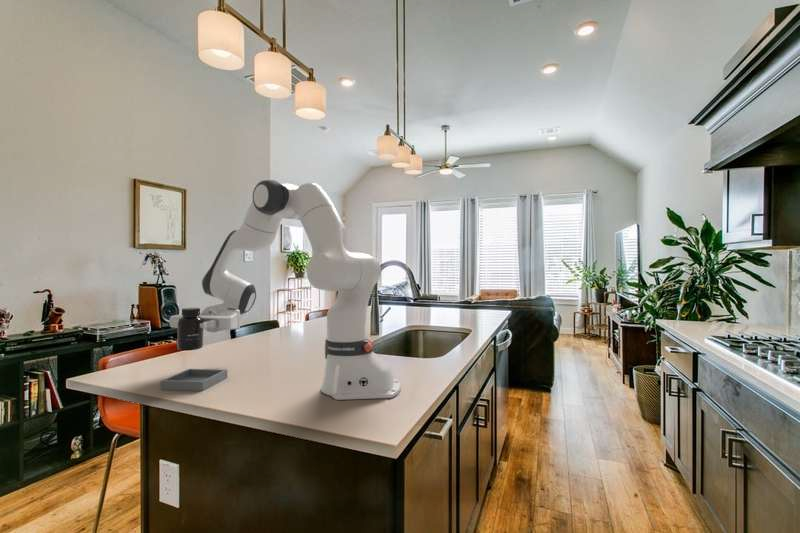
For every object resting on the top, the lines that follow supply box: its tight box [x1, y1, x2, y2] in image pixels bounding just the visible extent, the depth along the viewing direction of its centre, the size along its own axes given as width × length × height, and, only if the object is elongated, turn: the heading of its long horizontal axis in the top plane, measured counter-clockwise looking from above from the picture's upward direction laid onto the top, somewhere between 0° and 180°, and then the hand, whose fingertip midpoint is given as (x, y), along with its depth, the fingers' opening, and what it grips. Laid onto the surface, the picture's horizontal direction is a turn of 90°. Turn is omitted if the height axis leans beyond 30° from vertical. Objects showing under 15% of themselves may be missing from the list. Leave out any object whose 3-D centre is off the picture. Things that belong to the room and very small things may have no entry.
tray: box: [160, 368, 228, 392], centre depth 113 cm, size 13×13×2 cm
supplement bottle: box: [176, 307, 204, 351], centre depth 114 cm, size 7×7×12 cm
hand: (188, 325), depth 113 cm, fingers closed on supplement bottle, 7 cm apart
